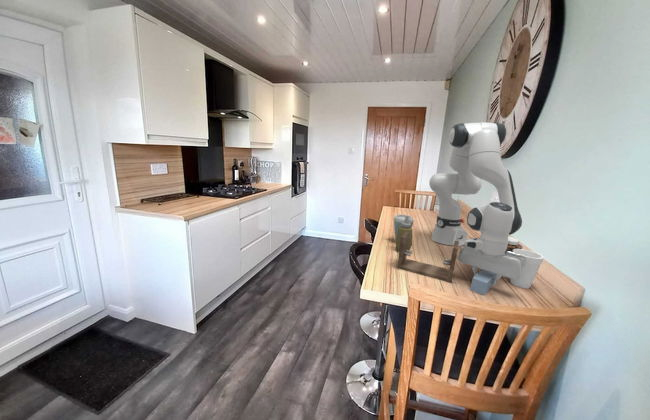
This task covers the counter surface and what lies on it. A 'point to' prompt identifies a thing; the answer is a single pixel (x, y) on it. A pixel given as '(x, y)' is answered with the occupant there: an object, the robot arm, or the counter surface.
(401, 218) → the disposable coffee cup
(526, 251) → the foam cup
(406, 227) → the squeeze bottle
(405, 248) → the shelf frame
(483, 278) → the grey block
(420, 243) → the counter surface
